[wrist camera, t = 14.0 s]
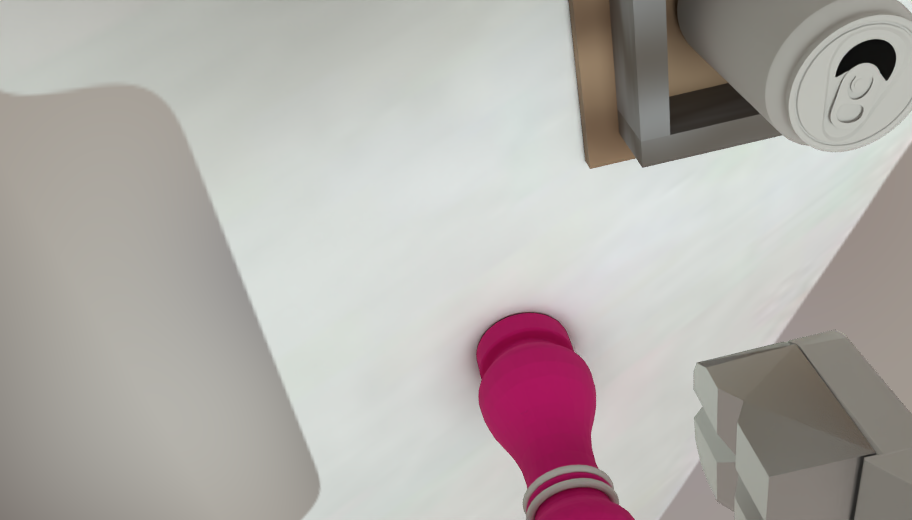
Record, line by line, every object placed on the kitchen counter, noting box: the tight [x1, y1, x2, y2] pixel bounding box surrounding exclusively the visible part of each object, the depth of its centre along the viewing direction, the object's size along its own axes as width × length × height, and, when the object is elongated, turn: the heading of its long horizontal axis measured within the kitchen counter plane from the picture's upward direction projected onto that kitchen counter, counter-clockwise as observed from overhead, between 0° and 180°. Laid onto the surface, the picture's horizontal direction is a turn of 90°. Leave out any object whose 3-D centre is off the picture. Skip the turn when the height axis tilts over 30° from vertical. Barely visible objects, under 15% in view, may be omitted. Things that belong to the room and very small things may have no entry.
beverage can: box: [677, 0, 912, 152], centre depth 36 cm, size 6×6×12 cm
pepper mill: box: [476, 313, 635, 520], centre depth 46 cm, size 7×7×20 cm
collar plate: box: [569, 0, 782, 169], centre depth 40 cm, size 15×15×5 cm
